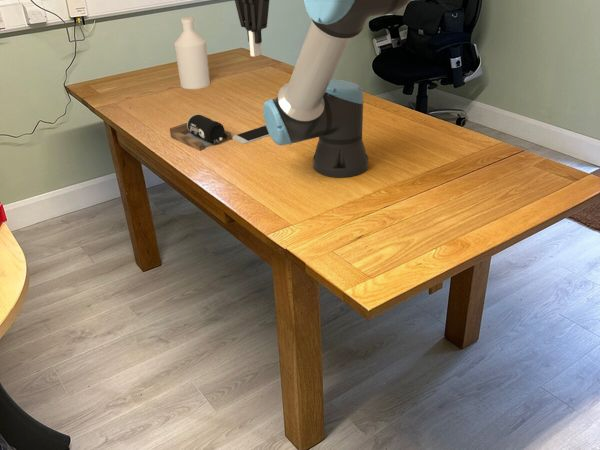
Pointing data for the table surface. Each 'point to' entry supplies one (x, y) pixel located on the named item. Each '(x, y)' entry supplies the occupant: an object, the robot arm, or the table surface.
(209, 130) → the beverage can
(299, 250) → the table surface
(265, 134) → the smartphone
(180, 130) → the walnut U-rest
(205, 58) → the bottle
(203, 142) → the grey rubber pad
